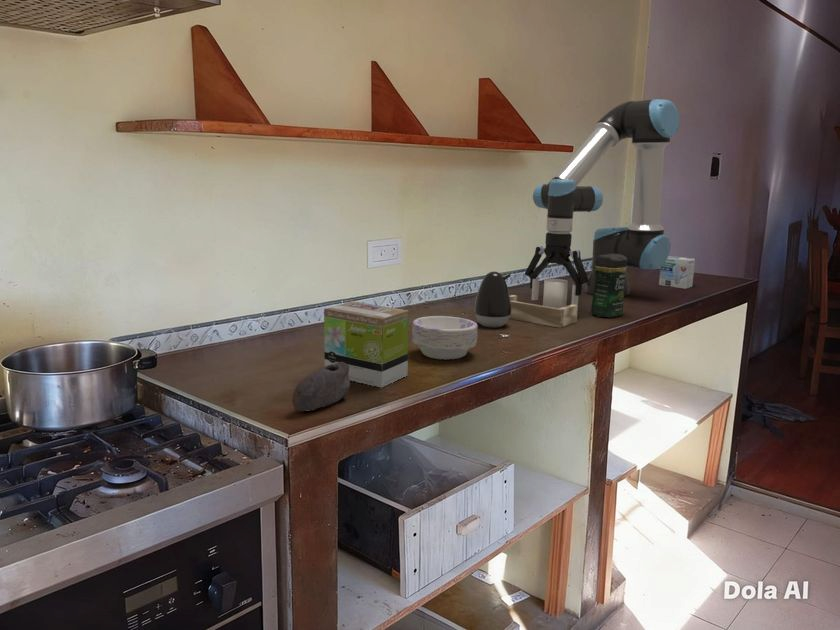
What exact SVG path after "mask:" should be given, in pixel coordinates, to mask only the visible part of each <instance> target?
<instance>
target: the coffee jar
mask: <svg viewBox="0 0 840 630" xmlns="http://www.w3.org/2000/svg"><path fill="white" fill-rule="evenodd" d="M627 269H628V266H627V258H626V256H625V255H621V254H606V255H599V256H598V257H597V258H596V262H595V285H594V293H593V294H592V299H591V300H592V301H591V308H590V309H591V310H590V313H591V314H592V315H594V316H596V317H599V318H602V317H606V318H615V317H619V316H622V315H623V314H624V307H625V306H624V304H625V303H624V302H625V300H624V298H625V296H624V280H625V274H626V275H627V271H628V270H627Z"/></svg>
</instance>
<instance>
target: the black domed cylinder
mask: <svg viewBox="0 0 840 630" xmlns="http://www.w3.org/2000/svg"><path fill="white" fill-rule="evenodd" d="M510 277H511V273H510V272H508V273H506V274H504V275H502V274H501V273H500V272H499V271H490V272H488V273H487V274H485V275H484V277H483V279H482V281H481V282H480V286H479V288H478V291H477V294H476V298H475V303H474V311H473V312H474V314H475V318H476V321H477V322H478V323H479V324H480V325H481V326H483V327H484V328H485V327H486V328H494V329H495V328H501V327H503V326H504V325H506V324H507V323H508V321H509V319H510V318H509V317H510V315H511V300H510V291H509V288H508V284H507V282H506V280H507V279H509V278H510Z"/></svg>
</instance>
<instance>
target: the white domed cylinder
mask: <svg viewBox="0 0 840 630" xmlns="http://www.w3.org/2000/svg"><path fill="white" fill-rule="evenodd" d="M568 287H569V281H568V280H566V279H562V278H561V279H560V278H547V279H544V280H543V297H542V306H547V307H554V308H562V307H565V306H567V301H568Z"/></svg>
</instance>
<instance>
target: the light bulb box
mask: <svg viewBox="0 0 840 630" xmlns="http://www.w3.org/2000/svg"><path fill="white" fill-rule="evenodd" d="M695 262H696V259H695V258H691V257H683V256H682V257H681V256H670V255H669V256H668V258H667V260H666V261H665V262H664V264H663V265H662V266H661V267H660V271H659V281H658V286H664V287H669V286H670V287H671V288H678V289H684V290H685V289H689V288H692V287H693V282H694V274H695V264H696V263H695Z"/></svg>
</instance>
